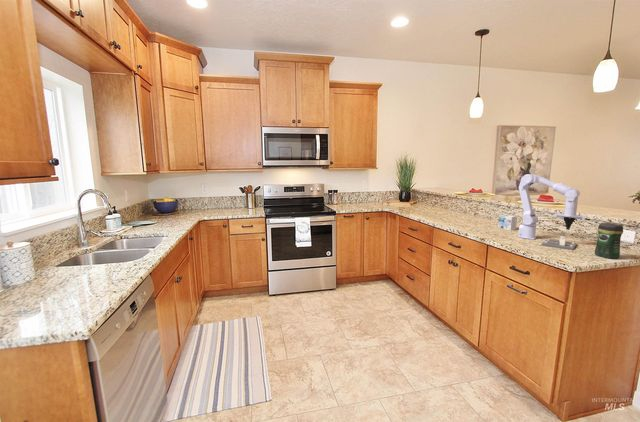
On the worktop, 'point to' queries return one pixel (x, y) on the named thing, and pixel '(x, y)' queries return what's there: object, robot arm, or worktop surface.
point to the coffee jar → (609, 240)
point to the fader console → (557, 244)
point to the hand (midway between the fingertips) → (568, 229)
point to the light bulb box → (507, 222)
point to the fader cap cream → (562, 241)
